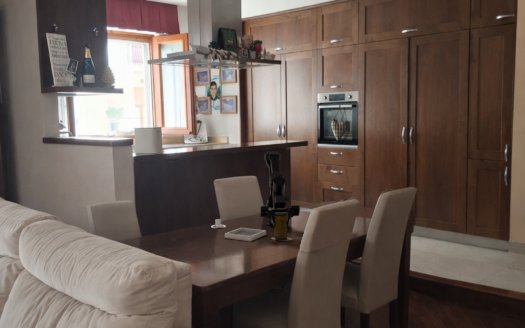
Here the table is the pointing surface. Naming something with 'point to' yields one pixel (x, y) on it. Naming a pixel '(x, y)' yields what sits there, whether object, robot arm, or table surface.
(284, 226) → the condiment
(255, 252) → the table surface
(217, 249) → the table surface
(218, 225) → the white ring with post
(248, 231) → the tray
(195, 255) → the table surface
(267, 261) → the table surface
